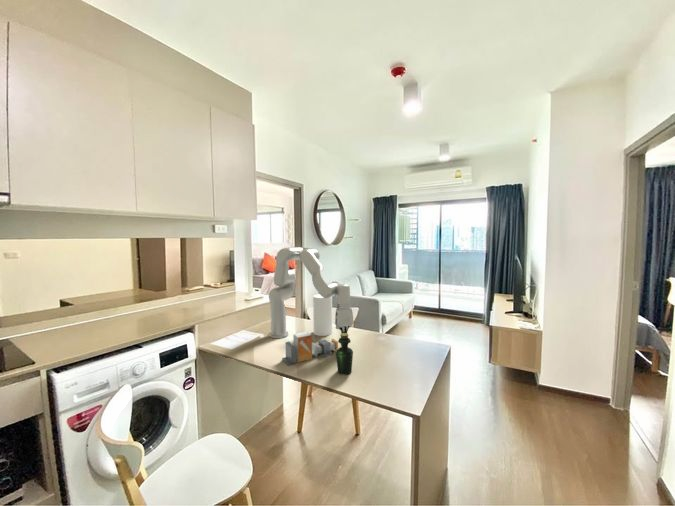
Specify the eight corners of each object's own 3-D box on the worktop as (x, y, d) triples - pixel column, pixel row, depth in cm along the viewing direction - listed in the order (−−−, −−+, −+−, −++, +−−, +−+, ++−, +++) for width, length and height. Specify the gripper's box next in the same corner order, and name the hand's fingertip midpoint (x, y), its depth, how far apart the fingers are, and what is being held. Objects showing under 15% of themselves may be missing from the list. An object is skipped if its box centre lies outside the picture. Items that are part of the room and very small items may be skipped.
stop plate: (282, 359, 148) (281, 343, 147) (289, 358, 150) (289, 341, 149) (287, 365, 141) (287, 348, 140) (295, 363, 143) (294, 346, 142)
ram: (310, 353, 155) (310, 342, 155) (333, 347, 162) (332, 337, 162) (315, 356, 150) (315, 345, 150) (338, 351, 157) (338, 340, 157)
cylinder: (328, 336, 182) (328, 298, 180) (310, 334, 185) (310, 297, 184) (334, 330, 194) (334, 294, 192) (317, 328, 197) (317, 293, 196)
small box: (298, 362, 145) (297, 337, 144) (293, 358, 150) (293, 334, 149) (312, 358, 149) (312, 334, 148) (307, 354, 154) (307, 331, 153)
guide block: (316, 351, 159) (316, 340, 158) (324, 349, 161) (324, 338, 161) (324, 356, 151) (324, 345, 151) (332, 354, 154) (332, 343, 153)
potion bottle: (340, 377, 129) (340, 338, 128) (333, 369, 137) (333, 333, 136) (356, 373, 132) (356, 335, 131) (348, 366, 140) (348, 330, 139)
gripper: (335, 309, 154) (336, 342, 155) (358, 305, 162) (358, 336, 162) (328, 306, 160) (329, 338, 161) (350, 303, 168) (351, 333, 169)
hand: (344, 337), depth 162 cm, fingers closed
